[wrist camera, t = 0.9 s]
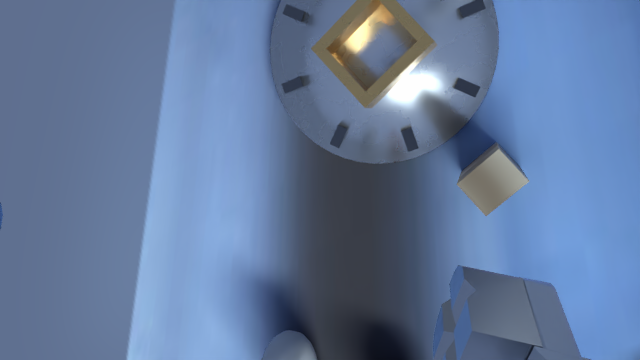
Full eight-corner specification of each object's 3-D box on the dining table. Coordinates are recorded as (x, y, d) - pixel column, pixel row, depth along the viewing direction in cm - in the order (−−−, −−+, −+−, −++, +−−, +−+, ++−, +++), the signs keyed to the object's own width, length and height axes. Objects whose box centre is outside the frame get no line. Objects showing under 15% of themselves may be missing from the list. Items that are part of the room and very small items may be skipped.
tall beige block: (496, 141, 47) (498, 148, 39) (521, 168, 47) (529, 181, 39) (461, 171, 49) (456, 184, 40) (485, 197, 48) (485, 216, 40)
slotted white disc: (386, -120, 47) (377, -142, 43) (551, 49, 45) (558, 43, 41) (234, 50, 54) (214, 46, 50) (373, 206, 51) (364, 214, 47)
